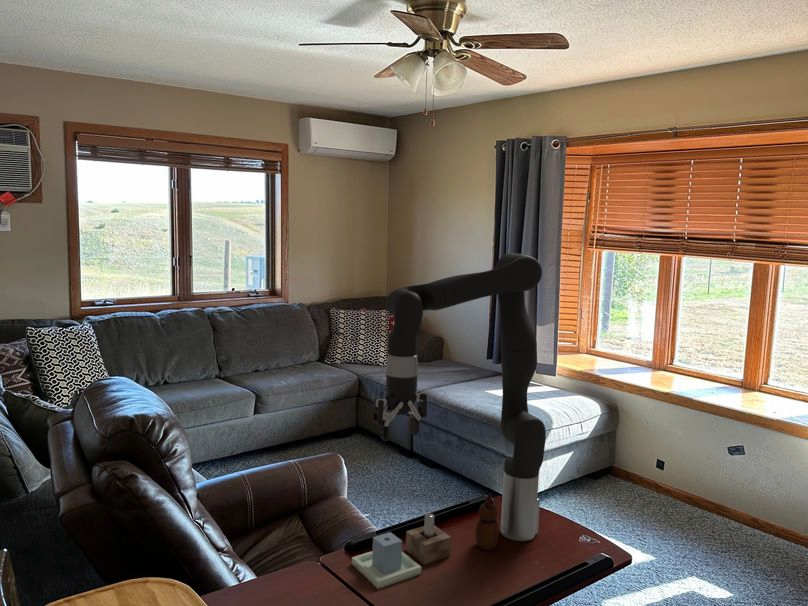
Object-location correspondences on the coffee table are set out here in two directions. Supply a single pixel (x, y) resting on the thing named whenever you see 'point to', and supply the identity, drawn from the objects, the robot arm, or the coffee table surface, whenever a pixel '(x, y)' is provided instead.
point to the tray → (379, 580)
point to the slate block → (387, 553)
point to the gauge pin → (429, 526)
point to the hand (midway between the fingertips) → (399, 437)
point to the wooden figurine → (487, 525)
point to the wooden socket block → (428, 545)
